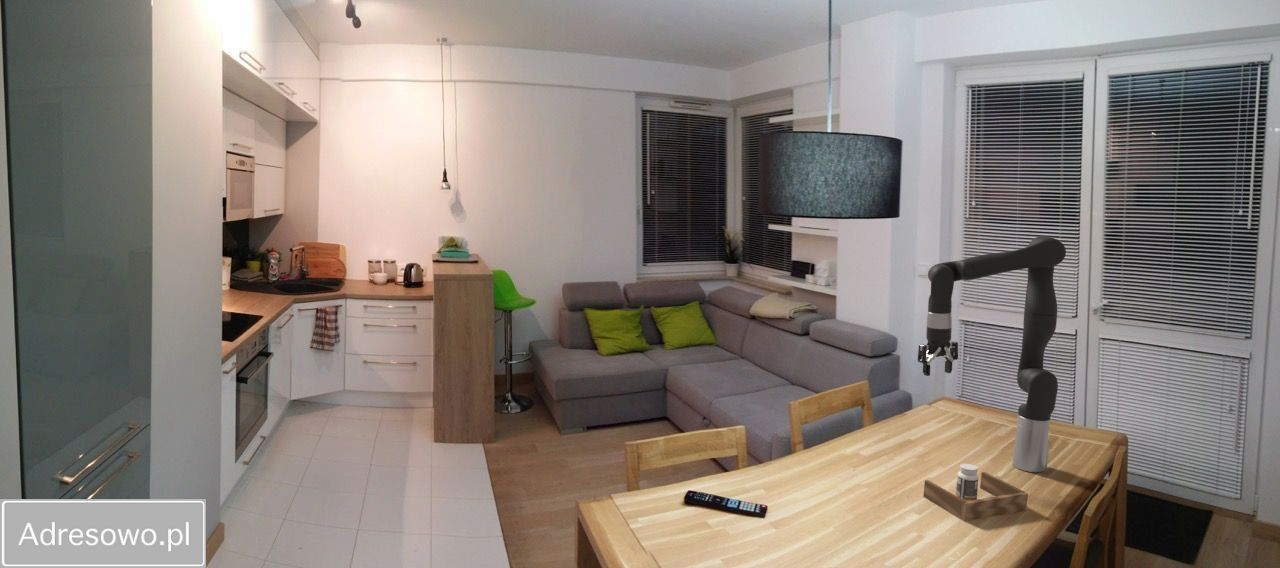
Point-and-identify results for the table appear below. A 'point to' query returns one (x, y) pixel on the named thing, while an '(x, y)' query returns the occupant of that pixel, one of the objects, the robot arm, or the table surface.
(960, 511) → the frame
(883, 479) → the table surface
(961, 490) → the pill bottle
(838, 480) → the table surface
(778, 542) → the table surface
